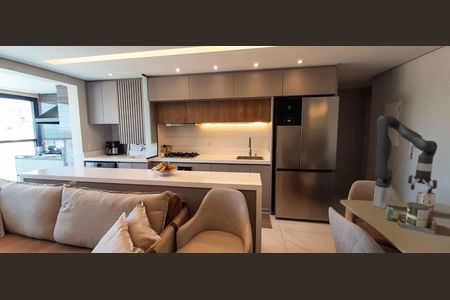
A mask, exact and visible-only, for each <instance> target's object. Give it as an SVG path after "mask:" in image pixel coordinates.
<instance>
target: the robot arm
mask: <svg viewBox="0 0 450 300" xmlns="http://www.w3.org/2000/svg"><path fill="white" fill-rule="evenodd" d="M389 128H390V129H393V130H395V131H396V132H397V133H399V135H400V136H401V137H402V138H403V139H404V140H406V141H408V142H409V143H411V144H412V145H413V146H414V147H415V148H416V149H418V150H419V151H421V153H420V154H419V155H418V157H417V164H416V167H415V175H413V174H410V175H408V179H407V183H408V184H410V189H411V191H414V190H415V188H416V187H415V186H416V184H422V185H425V186H426V187H427V188H428V189H427V191H428V194H431V193H432V192H433V190H435V189H437V188H438V179H432V172H433V164H434V163H433V161H434V157H435V154H436V153H437V149H438V144H437V142H436V141H434V140H426V139H424V138H423V136H422V135H421V134H419V133H418V132H416V131H414V130H413V129H411V128H409V127H408V126H406V125H404V124H403V123H402V122H401V121H400V120H398V119H397V118H396V117H395V116H393V115H389V114H388V115H380V116H379V117H378V118H377V120H376V129H377V132H376V133H377V141H376V142H377V143H376V162H375V163H376V164H375V168H374V174H375V177H376V178H377V180H376V181H375V184H374V187H375V188H374V194H373V202H372V203H373V204H372V205H373V206H375V207H377V208H381V209H387V207H389V197H390V187H391V184H392V179H393V171H392V168H390V167H388V162H389V159H390V158H391V155H392V150H393V142H392V140H391V137H390V135H389ZM413 179H414V181H413Z"/></svg>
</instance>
